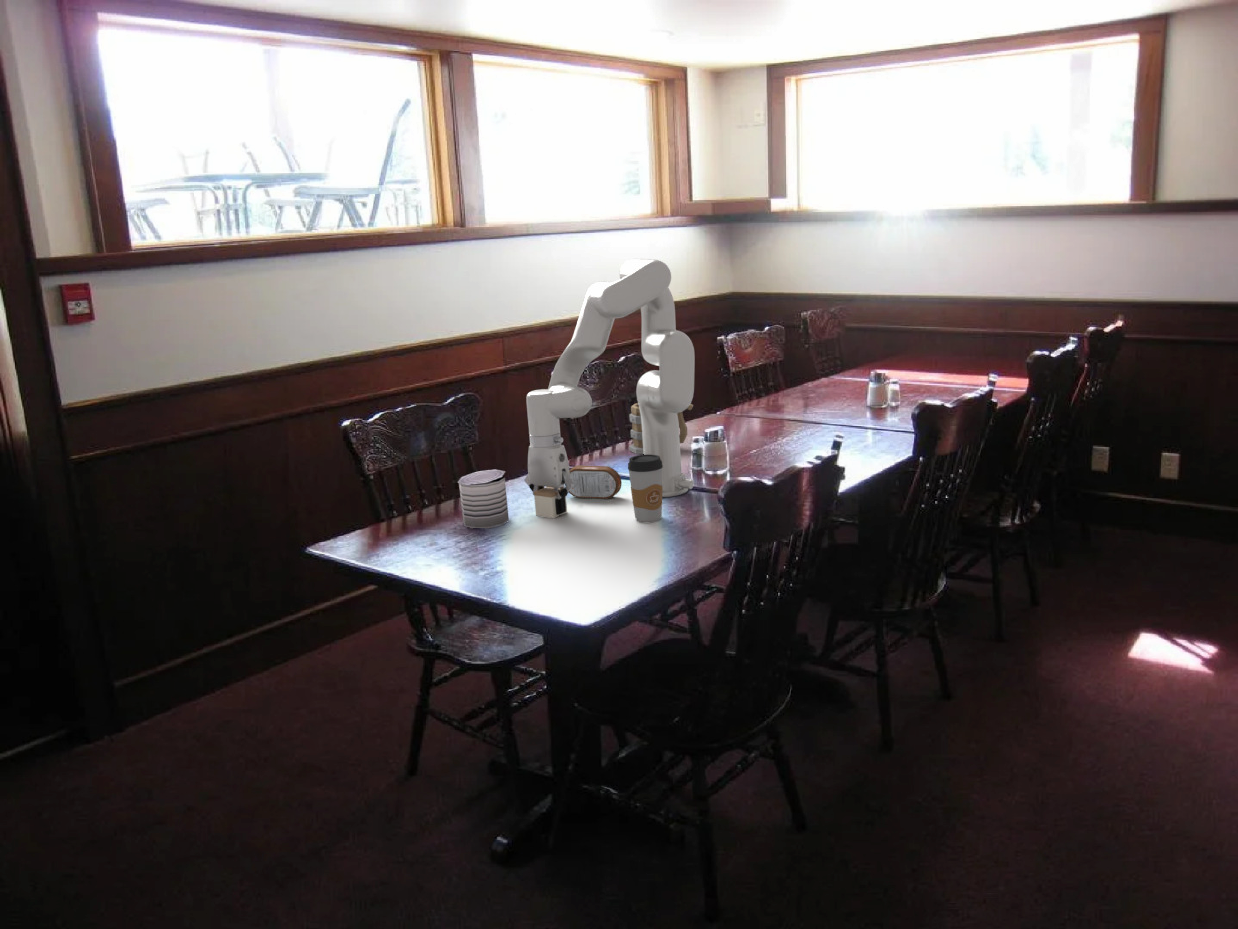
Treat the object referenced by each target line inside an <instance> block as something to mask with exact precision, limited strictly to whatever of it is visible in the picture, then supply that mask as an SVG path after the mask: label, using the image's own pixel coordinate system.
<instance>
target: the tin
mask: <svg viewBox="0 0 1238 929" xmlns="http://www.w3.org/2000/svg"><path fill="white" fill-rule="evenodd" d="M569 471H570V479H571V480H572V482H573V483H574V487H573V488H572V489H571V490H570V492H569V493H568V494H570V495H571V496H572V497H575V498H578V499H592V498H594V499H595V498H596V500H597V499H598V500H599V499H600V500H608V499H609V500H610V499H612V498H613V497H615V496H616V495H617V494H618V493H619V492H620V491H621V489H622V483H623V482H622V478H621V475H620V473H619V472H618V471H617V470H615V469H614V467H611V466H605V465H581V464H580V465H576V466H573V467H572V468H569ZM564 486H565V487H566V484H564Z"/></svg>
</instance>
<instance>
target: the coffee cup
mask: <svg viewBox="0 0 1238 929" xmlns="http://www.w3.org/2000/svg"><path fill="white" fill-rule="evenodd" d="M662 467H663V465H662V461H661V459H660V456H658V455H651V454H646V455H643V454H636V455H634V456H631V457H630V458H629V459H628V463H627V470H628V474H629V482H630V483H629V484H630V493H631V500H632V505H633V512H634V518H635V519H636V521H637V522H638V521H639V523H643V522H650V523H655V522H654V521H656V522H658V521H661V519H662V517H663V497H662Z"/></svg>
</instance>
